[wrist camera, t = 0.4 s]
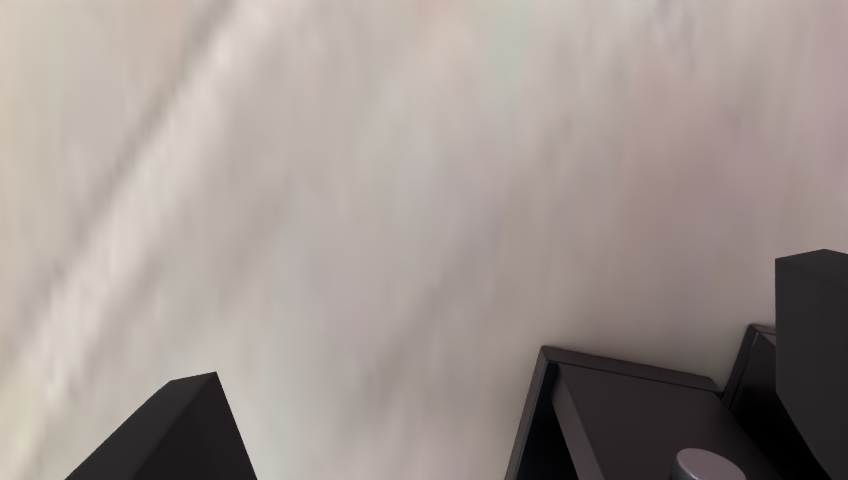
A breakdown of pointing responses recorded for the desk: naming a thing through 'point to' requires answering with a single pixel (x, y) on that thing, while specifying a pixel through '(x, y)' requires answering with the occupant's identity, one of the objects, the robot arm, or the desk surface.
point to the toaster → (767, 408)
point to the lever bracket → (628, 425)
